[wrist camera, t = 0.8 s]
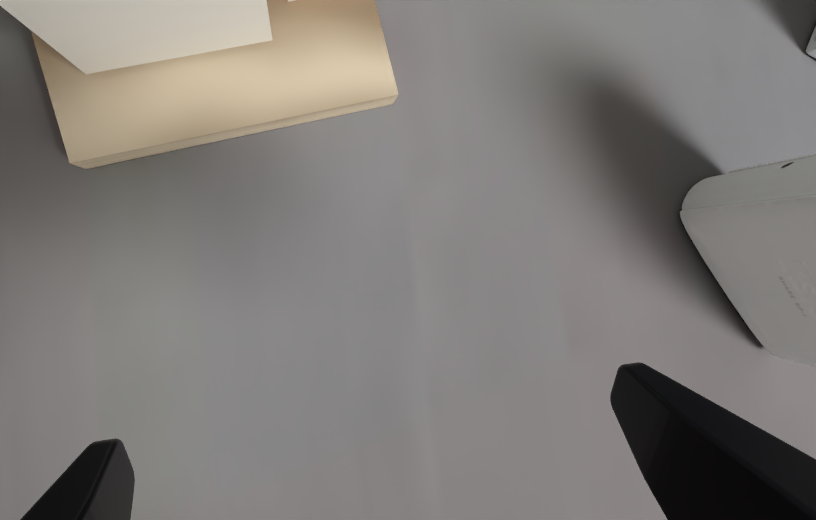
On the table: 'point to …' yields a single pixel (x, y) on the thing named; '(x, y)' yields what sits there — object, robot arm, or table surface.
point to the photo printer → (763, 248)
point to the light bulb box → (812, 45)
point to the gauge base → (225, 85)
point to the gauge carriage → (141, 28)
